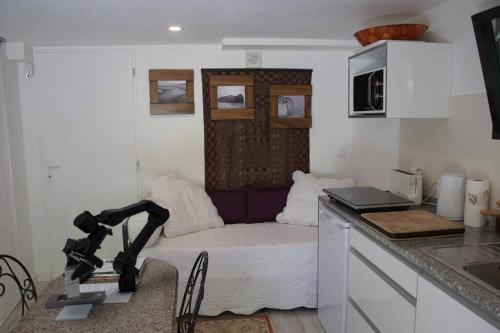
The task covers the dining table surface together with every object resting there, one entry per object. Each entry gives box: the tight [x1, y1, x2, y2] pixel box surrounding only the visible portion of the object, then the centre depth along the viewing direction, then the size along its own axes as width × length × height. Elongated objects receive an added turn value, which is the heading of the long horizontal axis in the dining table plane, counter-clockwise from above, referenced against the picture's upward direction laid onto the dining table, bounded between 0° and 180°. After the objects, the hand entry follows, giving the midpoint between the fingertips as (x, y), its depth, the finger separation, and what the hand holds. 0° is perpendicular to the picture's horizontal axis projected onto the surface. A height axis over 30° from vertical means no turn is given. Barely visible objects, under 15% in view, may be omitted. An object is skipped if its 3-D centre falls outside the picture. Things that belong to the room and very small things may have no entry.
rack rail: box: [44, 290, 107, 309], centre depth 148 cm, size 20×7×2 cm, turn 98°
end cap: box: [77, 265, 96, 283], centre depth 168 cm, size 10×7×7 cm
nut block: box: [63, 265, 81, 298], centre depth 138 cm, size 4×4×10 cm
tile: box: [55, 304, 94, 323], centre depth 139 cm, size 10×10×1 cm
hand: (67, 278), depth 137 cm, fingers closed on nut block, 5 cm apart
